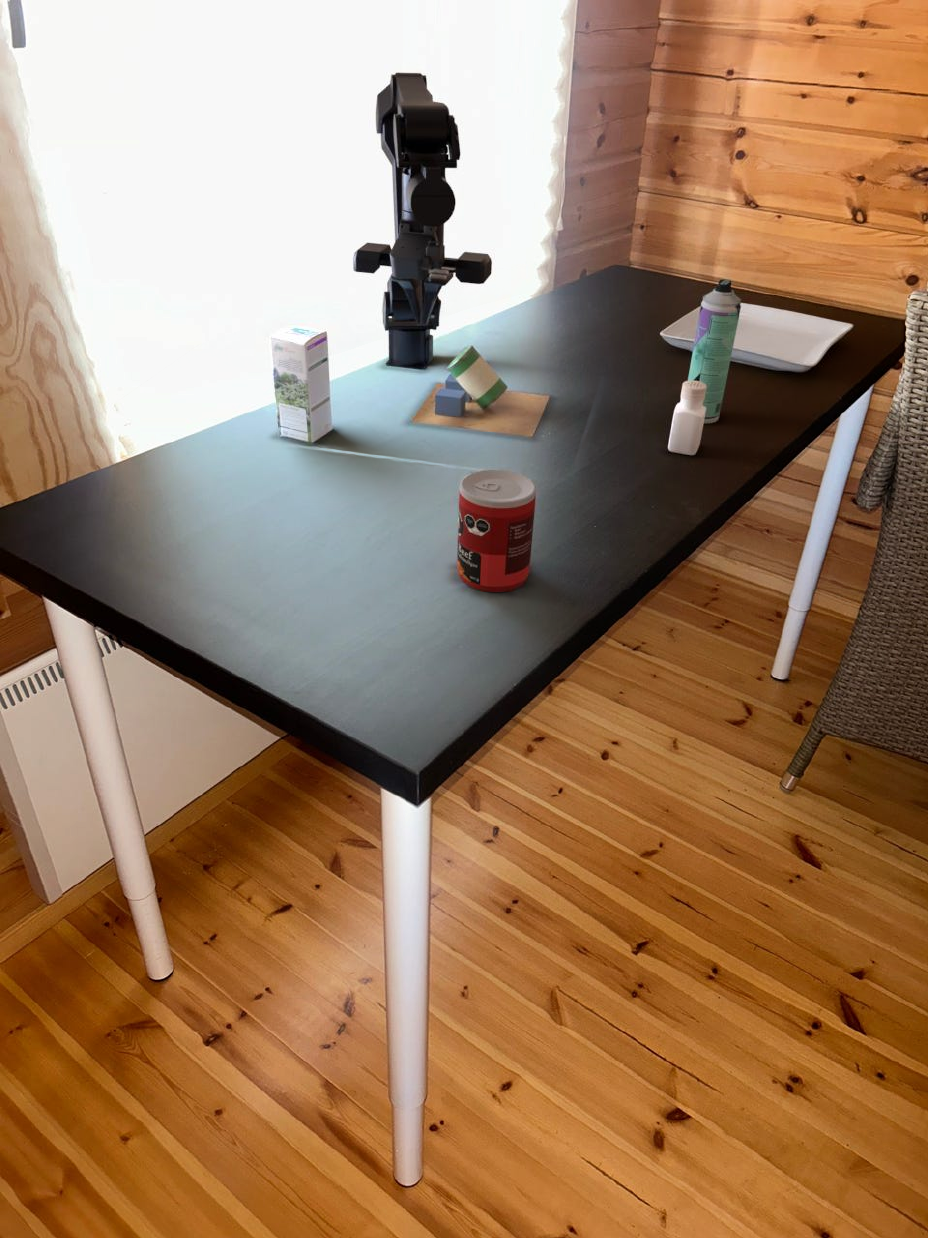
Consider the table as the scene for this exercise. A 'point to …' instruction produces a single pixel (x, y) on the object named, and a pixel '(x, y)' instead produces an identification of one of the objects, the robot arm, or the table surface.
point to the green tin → (477, 377)
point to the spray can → (715, 345)
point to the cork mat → (490, 414)
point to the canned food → (495, 529)
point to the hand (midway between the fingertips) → (422, 324)
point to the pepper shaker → (688, 419)
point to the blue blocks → (451, 399)
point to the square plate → (769, 337)
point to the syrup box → (301, 382)
